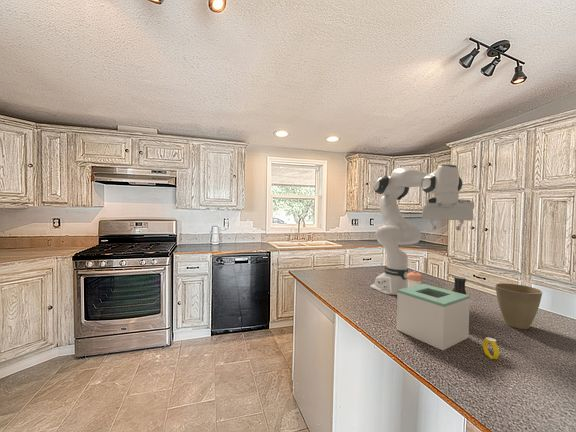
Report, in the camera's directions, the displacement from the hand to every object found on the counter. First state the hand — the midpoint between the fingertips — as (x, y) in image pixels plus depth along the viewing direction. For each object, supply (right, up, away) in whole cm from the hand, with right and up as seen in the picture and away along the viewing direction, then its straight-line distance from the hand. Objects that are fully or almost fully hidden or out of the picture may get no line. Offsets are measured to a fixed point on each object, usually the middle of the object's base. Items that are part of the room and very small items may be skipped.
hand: (446, 229), depth 120 cm
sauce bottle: (-1, -40, -10) cm, 41 cm away
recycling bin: (-17, -39, -18) cm, 47 cm away
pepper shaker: (-13, -39, +4) cm, 41 cm away
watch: (-6, -40, -34) cm, 53 cm away
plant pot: (+24, -40, -10) cm, 48 cm away
